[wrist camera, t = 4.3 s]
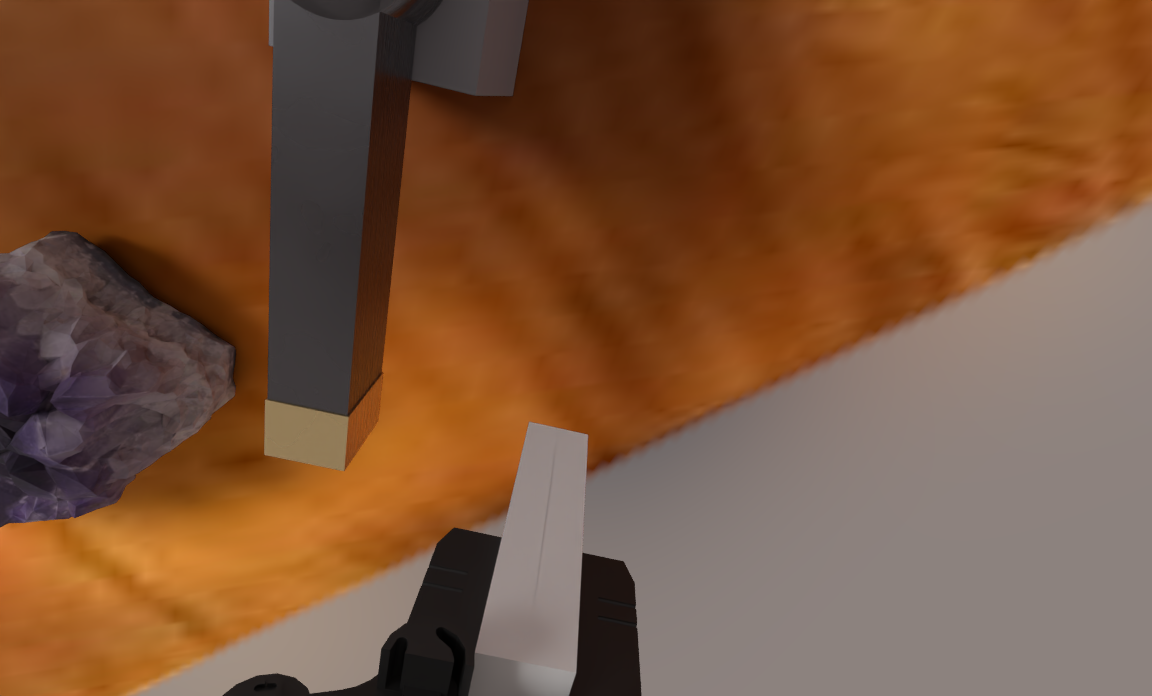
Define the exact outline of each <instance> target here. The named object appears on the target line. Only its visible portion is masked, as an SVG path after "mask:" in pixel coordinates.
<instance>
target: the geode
mask: <svg viewBox="0 0 1152 696" xmlns="http://www.w3.org/2000/svg"><path fill="white" fill-rule="evenodd" d="M235 357H236V349H235V347H234V346H232V345H231V344H229V343H227V342H226V341H224V340H223V339H221V338H219V337H218V336H216V335H215V334H213V333H212V332H211V331H209V330H208V329H207V328H206V327H205V326H203V325H202V324H200V323H199V322H198V321H196V320H195V319H193V318H192V317H190V316H188V315H186V314H183V313H181V312H179V311H178V310H176V309H175V308H173V307H171V306H170V305H168V304H166V303H164V302H162V301H160V300H158V299H156V298H154V297H153V296H152V295H151V294H150V293H149V292H148V291H147V290H146V289H145V288H144V287H143V286H142V285H141V284H140V283H139V282H138V281H137V280H135V279H133V278H132V277H130V276H129V275H128V274H127V273H126V272H125V271H124V270H123V269H122V268H121V267H120V266H119V265H118V264H117V263H116V262H115V261H114V260H113V259H112V258H111V257H110V256H109V255H108V254H107V253H106V252H105V251H103V250H102V249H100V248H99V247H97V246H95V245H94V244H92V243H91V242H89V241H88V240H86V239H85V238H83V237H82V236H81V235H79V234H78V233H76V232H69V231H52V232H50V233H49V234H48V235H47V236H45V237H44V238H42V239H40V240H38V241H34V242H31V243H29V244H26V245H24V246H22V247H20V248H18V249H16V250H14V251H13V252H11V253H5V254H0V527H2V526H4V525H6V524H8V523H26V522H34V521H47V520H54V519H55V520H56V519H69V518H70V517H74V518H76V517H79V516H81V515H84V514H86V513H89V512H91V511H94V510H96V509H99V508H102V507H105V506H108V505H111V504H114V503H116V502H117V501H118V500H119V499H120V497H121V495H122V493H123V491H124V489H125V487H126V485H128V484H129V483H130V482H131V481H133V480H134V479H135V476H136V474H137V473H139V472H140V471H142V470H144V469H145V468H147V467H148V466H150V465H151V464H153V463H154V462H155V461H156V460H157V459H159V458H160V457H161V456H163V455H164V454H166V453H168V452H170V451H171V450H173V449H174V448H175V447H177V446H178V445H179V444H181V443H182V442H183V441H184V440H186V439H187V438H189V437H190V436H192V435H193V434H195V433H197V432H198V431H199V430H200V429H201V428H202V426H203V425H204V424H205V423H206V422H207V421H208V420H210V419H211V415H212V414H213V413H214V412H215V411H217V410H218V409H219V408H221V407H222V406H223V405H224V404H225V403H227V402H228V401H229V400H230V399H232V398H233V397H234V396H235V390H236V386H235V383H234V380H233V372H234V366H235Z"/></svg>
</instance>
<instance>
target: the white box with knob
mask: <svg viewBox="0 0 1152 696" xmlns="http://www.w3.org/2000/svg"><path fill="white" fill-rule="evenodd" d="M528 2H529V0H443V1H442V2H441V4H440V6H439V7H438V8H437V9H436V11H435V12H434V13H433V14H432V15H431V16H430V17H429V18H428V19H427V20H426V21H424V22H423V23H421V24H420V25H418V26H417V32H416V41H415V51H414V61H413V71H412V80H413V81H417V82H421V83H425V84H430V85H434V86H438V87H442V88H446V89H450V90H454V91H458V92H462V93H466V94H471V95H475V96H513V91H514V85H515V79H516V73H517V67H518V61H519V55H520V49H521V43H522V37H523V31H524V25H525V19H526V13H527V8H528ZM273 28H274V0H269V45H270V46H273Z"/></svg>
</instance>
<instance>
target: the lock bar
mask: <svg viewBox="0 0 1152 696" xmlns="http://www.w3.org/2000/svg"><path fill="white" fill-rule="evenodd" d="M442 1H443V0H274V28H273V91H272V154H271V217H270V280H269V342H268V397H267V398H266V399H265V438H264V455H268V456H272V457H277V458H282V459H287V460H292V461H297V462H302V463H307V464H311V465H316V466H321V467H326V468H331V469H336V470H341V471H345V469H346V468H347V466H348V465H349V463H350V462H351V461H352V459H353V458H354V456H355V455H356V453H357V452H358V450H359V449H360V447H361V446H362V444H363V443H364V441H365V440H366V438H367V437H368V435H369V434H370V433H371V431H372V430H373V428H374V427H375V425H376V424H377V422H378V419H379V410H380V400H381V391H382V381H383V372H382V363H383V353H384V343H385V334H386V324H387V314H388V304H389V295H390V285H391V275H392V265H393V256H394V246H395V236H396V226H397V217H398V207H399V197H400V187H401V178H402V168H403V158H404V149H405V139H406V129H407V119H408V110H409V100H410V90H411V80H412V71H413V61H414V51H415V41H416V32H417V26H418V25H420V24H421V23H423V22H424V21H426V20H427V19H428V18H429V17H430V16H431V15H432V14H433V13H434V12H435V11H436V9H437V8H438V7H439V6H440V4H441V2H442Z"/></svg>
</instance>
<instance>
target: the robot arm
mask: <svg viewBox="0 0 1152 696" xmlns="http://www.w3.org/2000/svg"><path fill="white" fill-rule="evenodd" d="M587 448H588V435H587V434H583V433H578V432H574V431H569V430H565V429H560V428H556V427H551V426H546V425H542V424H537V423H533V422H529V425H528V429H527V433H526V437H525V442H524V446H523V450H522V454H521V459H520V463H519V467H518V471H517V476H516V480H515V484H514V488H513V493H512V497H511V501H510V505H509V510H508V514H507V518H506V522H505V527H504V531H503V535H502V537H497V536H492V535H487V534H483V533H478V532H473V531H468V530H464V529H459V528H453V529H452V530H451V531H450V532H449V533H448V534H447V535H446V536H445V537H444V538H442V539H441V540H440V541H439V542H438V543H437V546H436V548H435V551H434V553H433V556H432V559H431V561H430V565H429V568H428V569H427V572H426V575H425V577H424V580H423V584H422V586H421V588H420V591H419V593H418V596H417V598H416V601H415V604H414V607H413V609H412V612H411V614H410V617H409V620H408V622H407V623H406V624H404V625H403V626H401V627H400V628H399V629H397V630H396V631H394V632H393V633H392V634H391V635H390V636H389V638H388V639H387V641H386V643H385V644H384V645H383V647H382V649H381V657H380V665H379V672H378V675H377V676H375V677H374V678H373V679H371V680H369V681H367V682H365V683H363V684H361V685H358V686H356V687H352V688H347V689H343V690H337V691H329V692H321V693H313V694H310V693H309V690H308V688H307V687H306V686H305V685H303V684H302V683H301V682H300V681H298V680H297V679H296V678H294V677H290V676H285V675H282V674H268V675H259V676H255V677H253V678H250V679H248V680H246V681H244V682H241V683H239V684H236V685H235V686H234V687H233V688H231V689H230V690H229V691H228V692H226V693H225V694H224V695H223V696H641V681H640V664H639V648H638V633H637V628H636V626H637V617H636V609H635V606H636V600H635V583H634V581H633V579H632V577H631V575H630V573H629V571H628V569H627V567H626V565H625V563H624V562H623V561H619V560H614V559H609V558H605V557H600V556H595V555H590V554H585V553H582V546H583V527H584V508H585V507H584V506H585V488H586V468H587Z"/></svg>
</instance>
